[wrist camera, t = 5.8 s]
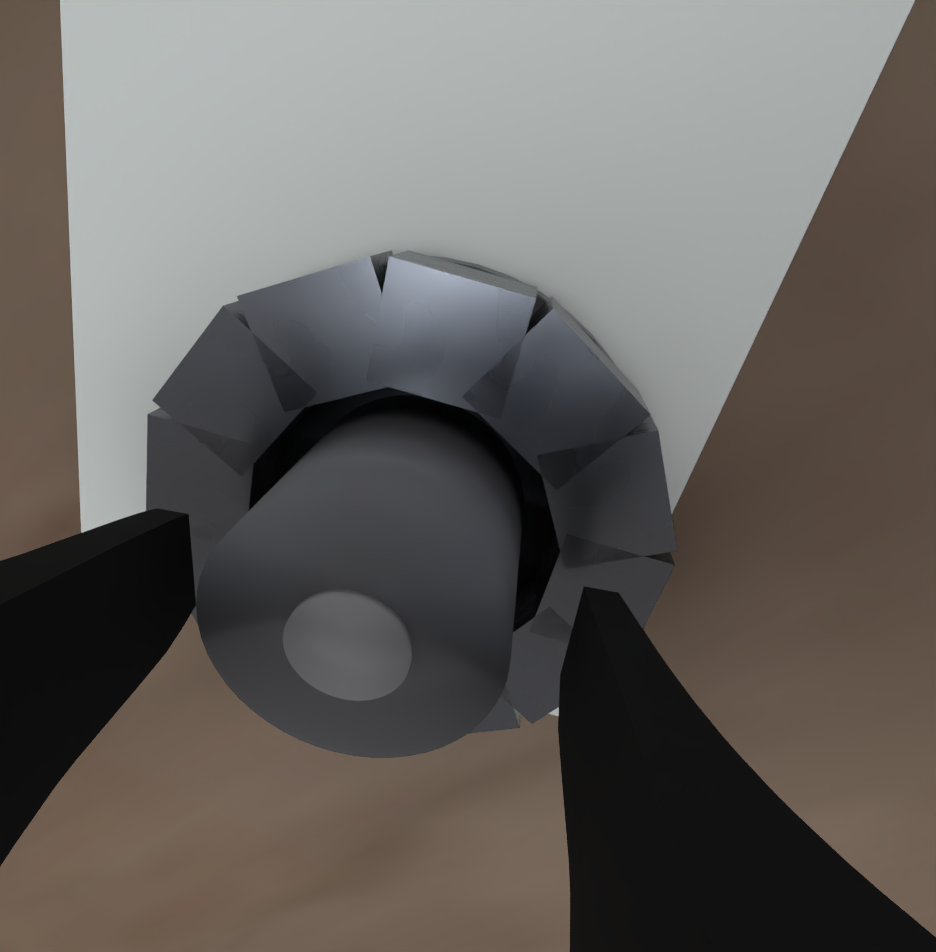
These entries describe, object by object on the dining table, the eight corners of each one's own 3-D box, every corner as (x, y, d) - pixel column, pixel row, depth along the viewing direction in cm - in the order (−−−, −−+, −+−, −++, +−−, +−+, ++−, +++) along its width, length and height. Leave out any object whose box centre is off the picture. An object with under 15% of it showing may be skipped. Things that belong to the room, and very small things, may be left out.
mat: (1200, -631, 7) (1233, -673, 7) (573, 710, 18) (574, 720, 17) (44, -963, 7) (19, -1023, 7) (92, 572, 18) (83, 580, 17)
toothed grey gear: (729, 336, 12) (774, 366, 10) (563, 704, 17) (566, 783, 15) (226, 191, 12) (151, 188, 10) (198, 599, 17) (143, 662, 15)
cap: (534, 406, 12) (526, 527, 8) (512, 600, 14) (496, 787, 10) (305, 384, 13) (165, 486, 8) (317, 575, 15) (210, 743, 10)
